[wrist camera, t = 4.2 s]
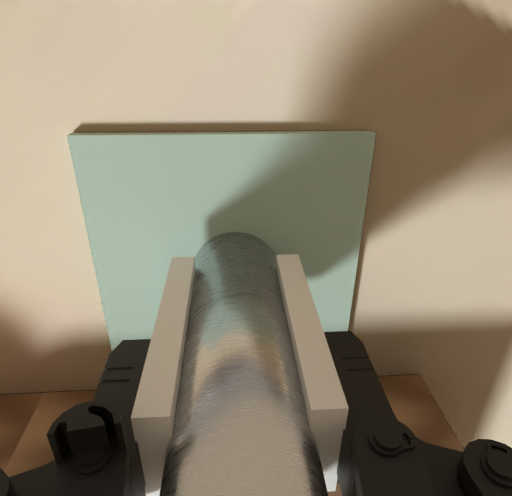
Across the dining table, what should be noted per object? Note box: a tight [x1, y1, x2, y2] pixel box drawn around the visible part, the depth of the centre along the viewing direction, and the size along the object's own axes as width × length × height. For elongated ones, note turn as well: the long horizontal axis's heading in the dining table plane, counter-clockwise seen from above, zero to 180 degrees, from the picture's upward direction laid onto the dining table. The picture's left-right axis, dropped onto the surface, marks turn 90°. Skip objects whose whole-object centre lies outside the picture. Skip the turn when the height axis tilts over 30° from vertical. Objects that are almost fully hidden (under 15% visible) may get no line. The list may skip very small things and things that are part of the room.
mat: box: [67, 131, 376, 351], centre depth 16 cm, size 10×10×1 cm
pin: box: [159, 232, 328, 496], centre depth 10 cm, size 3×3×12 cm
